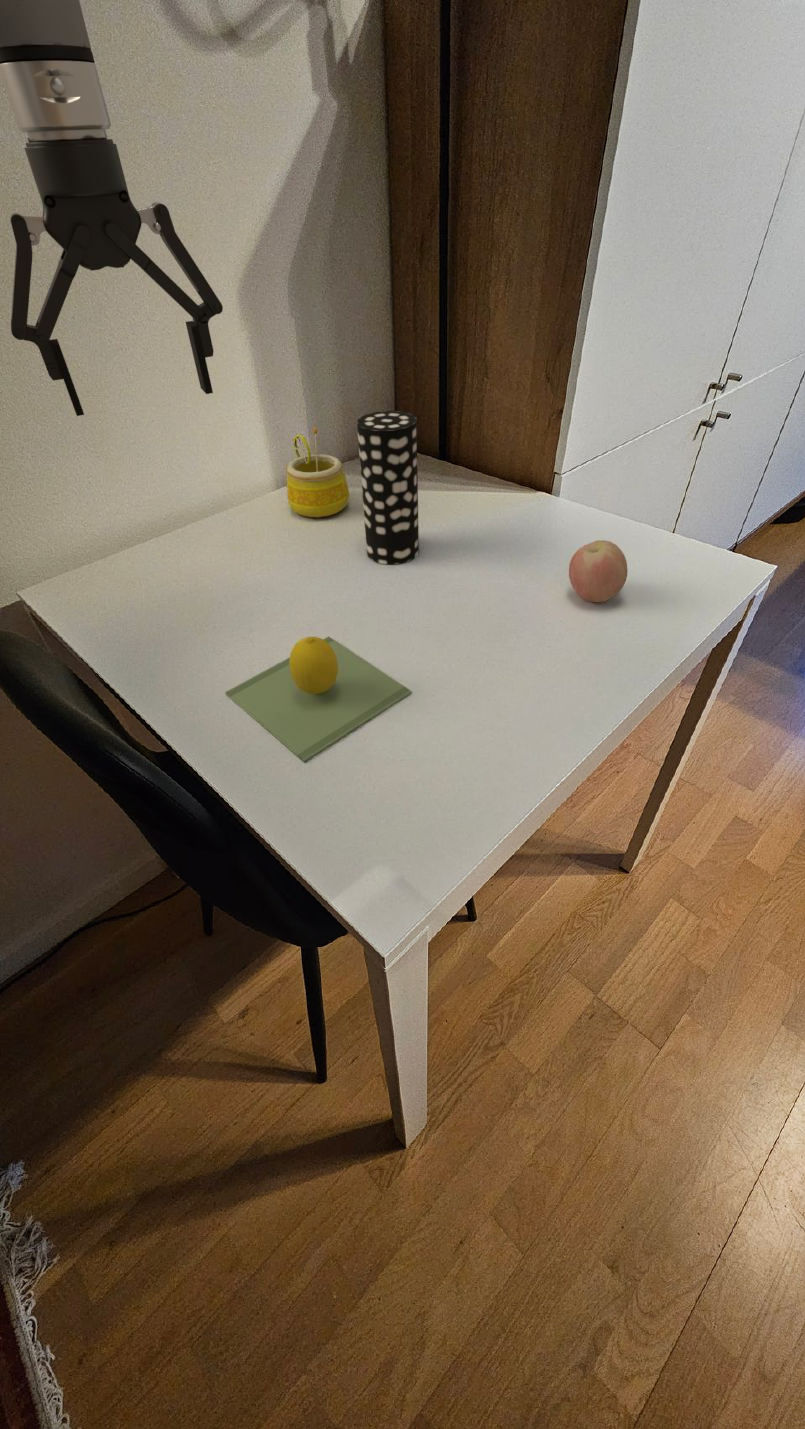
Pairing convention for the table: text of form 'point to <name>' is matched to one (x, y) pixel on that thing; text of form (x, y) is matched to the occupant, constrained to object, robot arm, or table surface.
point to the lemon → (313, 665)
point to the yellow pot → (315, 482)
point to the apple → (598, 571)
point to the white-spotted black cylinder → (389, 485)
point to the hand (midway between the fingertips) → (145, 401)
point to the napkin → (317, 702)
